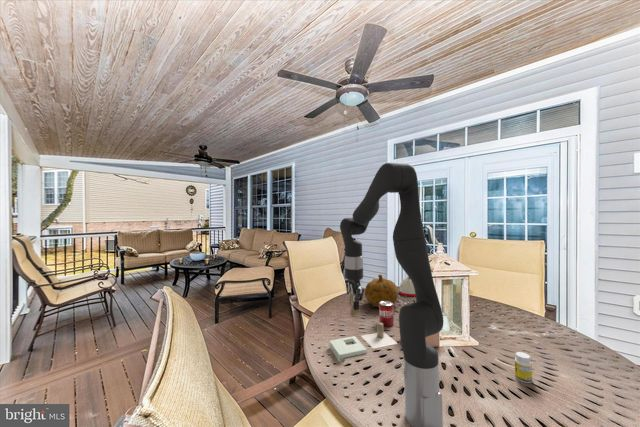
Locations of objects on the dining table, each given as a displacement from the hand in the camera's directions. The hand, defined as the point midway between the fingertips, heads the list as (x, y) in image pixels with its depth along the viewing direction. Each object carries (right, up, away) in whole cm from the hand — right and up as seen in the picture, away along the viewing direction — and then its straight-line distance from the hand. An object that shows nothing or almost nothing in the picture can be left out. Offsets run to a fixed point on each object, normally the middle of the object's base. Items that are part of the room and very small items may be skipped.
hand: (354, 307), depth 107 cm
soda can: (+20, -19, +26) cm, 38 cm away
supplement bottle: (+56, -19, -17) cm, 62 cm away
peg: (0, -3, 0) cm, 3 cm away
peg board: (-2, -20, +4) cm, 21 cm away
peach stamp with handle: (+30, -19, +7) cm, 36 cm away
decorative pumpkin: (+25, -19, +56) cm, 64 cm away
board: (+12, -20, +10) cm, 25 cm away
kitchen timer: (+49, -18, +77) cm, 93 cm away
